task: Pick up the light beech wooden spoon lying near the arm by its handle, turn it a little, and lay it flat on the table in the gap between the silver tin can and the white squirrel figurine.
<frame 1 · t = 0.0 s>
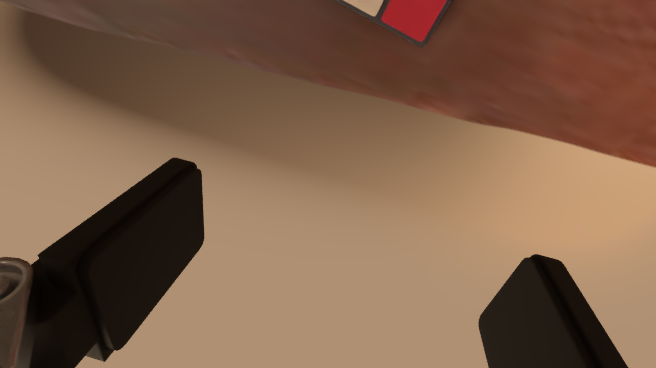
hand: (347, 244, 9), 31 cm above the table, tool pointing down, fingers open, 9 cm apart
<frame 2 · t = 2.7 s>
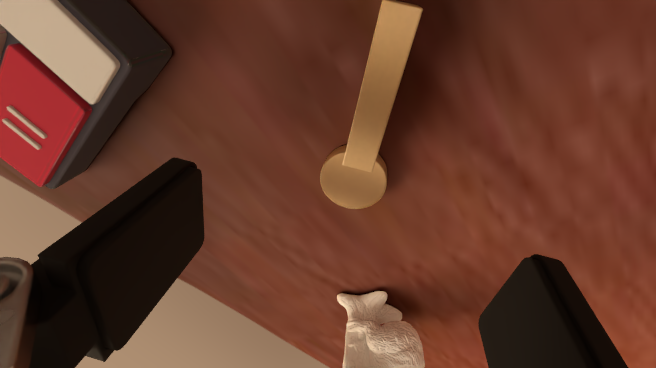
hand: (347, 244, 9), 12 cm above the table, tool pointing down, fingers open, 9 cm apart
calculator: (57, 58, 21), on the table
white squirrel figurine: (374, 304, 28), on the table
wooden spoon: (368, 121, 19), on the table
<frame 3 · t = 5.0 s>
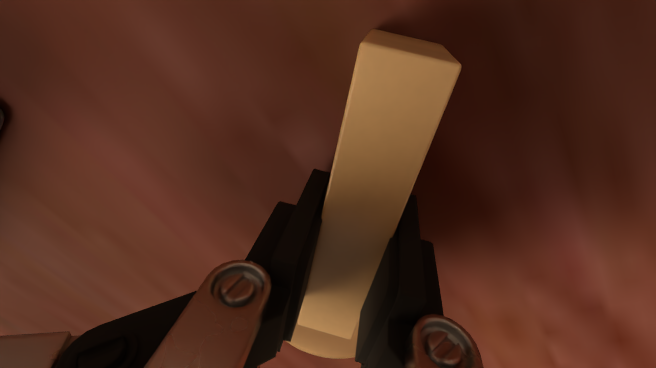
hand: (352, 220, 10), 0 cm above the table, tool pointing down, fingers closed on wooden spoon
wooden spoon: (347, 234, 11), on the table, touching gripper
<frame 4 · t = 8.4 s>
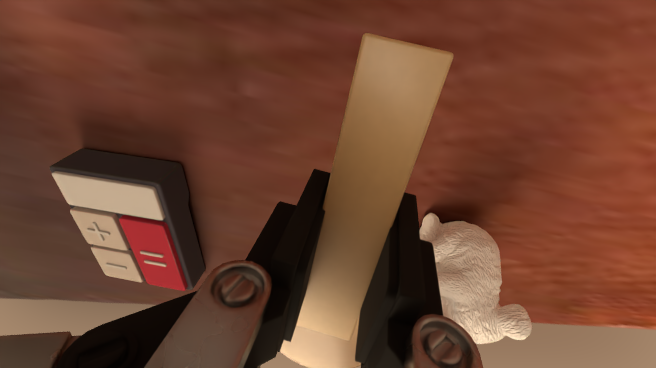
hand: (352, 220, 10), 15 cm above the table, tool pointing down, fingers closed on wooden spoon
calculator: (151, 214, 34), on the table
white squirrel figurine: (440, 231, 29), on the table
wooden spoon: (346, 236, 11), point 15 cm above the table, tilted 7°, touching gripper
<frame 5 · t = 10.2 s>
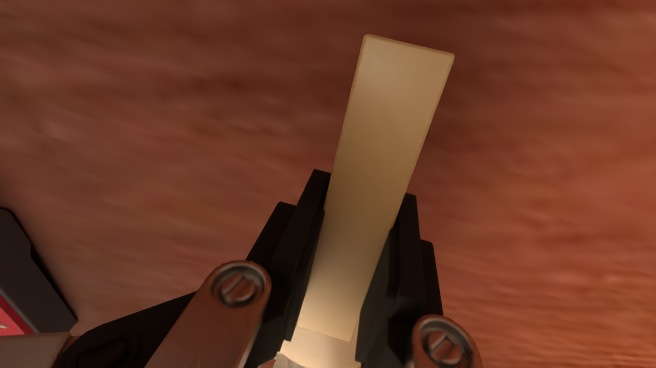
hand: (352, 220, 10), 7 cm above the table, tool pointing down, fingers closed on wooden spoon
calculator: (1, 261, 29), on the table
wooden spoon: (346, 237, 11), point 7 cm above the table, tilted 6°, touching gripper
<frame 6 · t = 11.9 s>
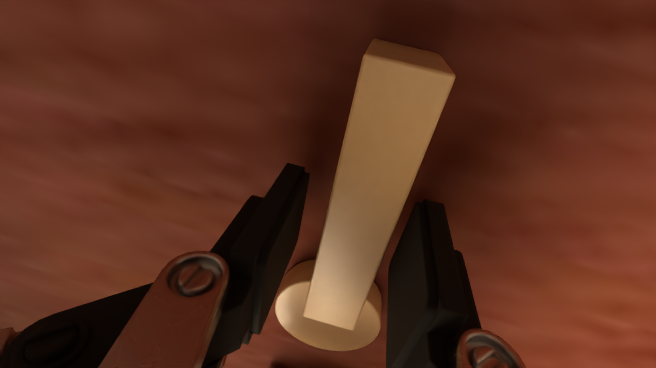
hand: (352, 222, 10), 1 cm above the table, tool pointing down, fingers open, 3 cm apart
wooden spoon: (350, 231, 11), on the table
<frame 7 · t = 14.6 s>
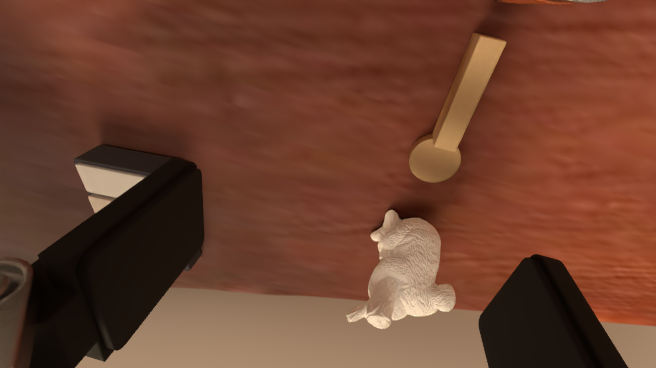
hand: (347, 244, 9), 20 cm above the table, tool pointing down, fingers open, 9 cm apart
calculator: (156, 203, 40), on the table
white squirrel figurine: (401, 226, 33), on the table
wooden spoon: (450, 117, 26), on the table
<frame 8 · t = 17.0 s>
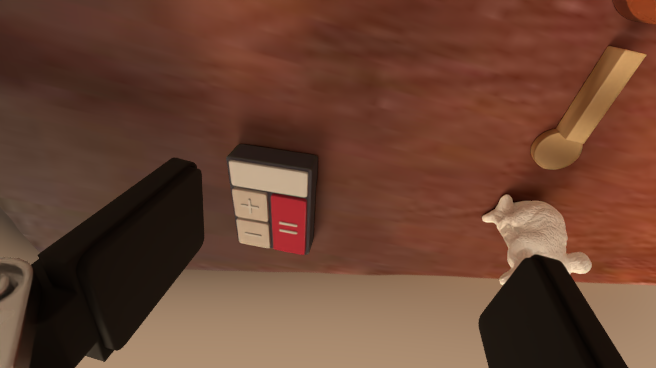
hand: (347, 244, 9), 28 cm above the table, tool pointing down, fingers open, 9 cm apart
calculator: (279, 195, 45), on the table
white squirrel figurine: (510, 209, 39), on the table
wooden spoon: (574, 114, 32), on the table
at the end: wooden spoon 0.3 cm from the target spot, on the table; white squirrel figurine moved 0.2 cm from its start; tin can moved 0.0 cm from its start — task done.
